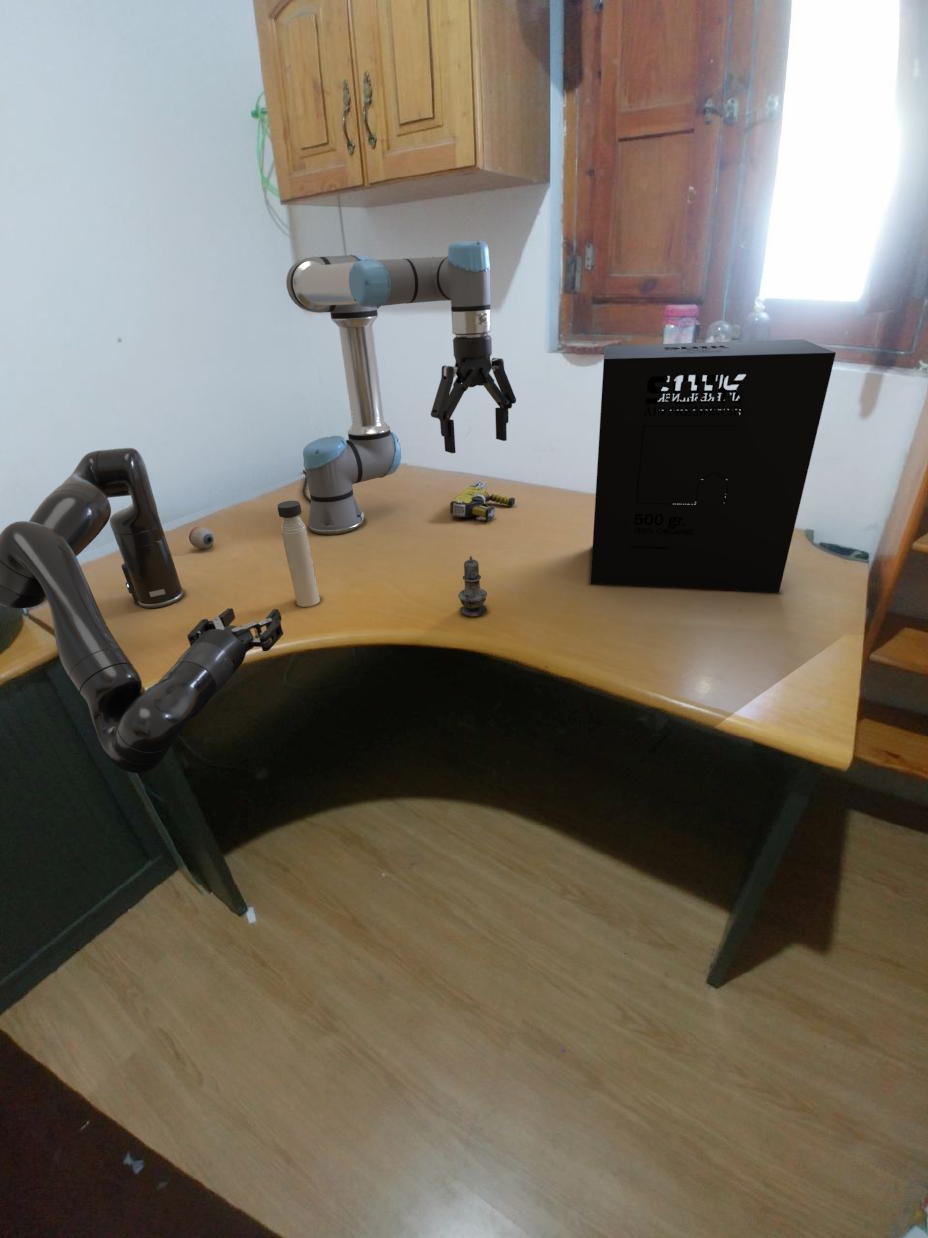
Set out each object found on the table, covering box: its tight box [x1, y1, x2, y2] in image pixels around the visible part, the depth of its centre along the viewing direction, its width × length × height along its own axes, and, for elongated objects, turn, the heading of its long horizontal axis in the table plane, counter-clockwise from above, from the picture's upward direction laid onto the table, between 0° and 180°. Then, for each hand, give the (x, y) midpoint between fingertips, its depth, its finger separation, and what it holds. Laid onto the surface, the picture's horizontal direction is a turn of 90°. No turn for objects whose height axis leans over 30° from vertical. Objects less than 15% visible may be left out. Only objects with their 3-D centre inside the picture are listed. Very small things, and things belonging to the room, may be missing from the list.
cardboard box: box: [590, 338, 837, 594], centre depth 124 cm, size 38×20×45 cm, turn 78°
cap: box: [276, 500, 303, 519], centre depth 120 cm, size 4×4×2 cm
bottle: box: [280, 515, 321, 608], centre depth 125 cm, size 5×5×22 cm
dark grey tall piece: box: [457, 555, 488, 617], centre depth 120 cm, size 6×6×12 cm
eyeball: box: [188, 525, 215, 550], centre depth 158 cm, size 6×6×6 cm
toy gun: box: [449, 480, 516, 522], centre depth 174 cm, size 5×24×15 cm
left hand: (254, 613), depth 106 cm, fingers open, 8 cm apart
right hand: (476, 445), depth 127 cm, fingers open, 13 cm apart
